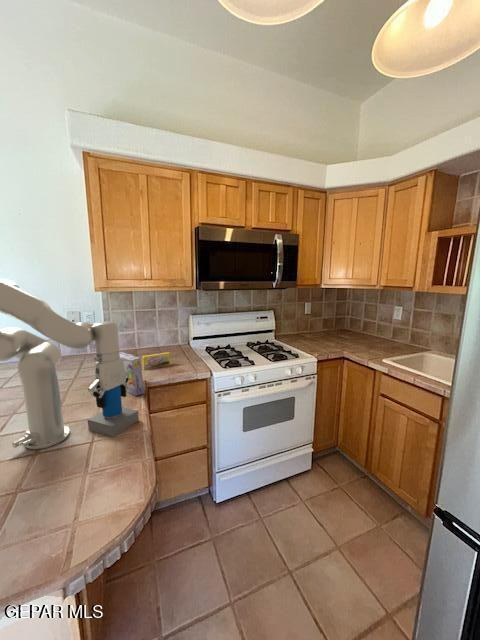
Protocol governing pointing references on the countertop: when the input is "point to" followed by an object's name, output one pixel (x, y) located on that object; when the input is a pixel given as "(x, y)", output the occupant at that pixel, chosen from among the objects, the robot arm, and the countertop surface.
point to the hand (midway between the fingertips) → (112, 401)
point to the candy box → (156, 360)
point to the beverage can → (112, 403)
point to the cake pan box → (133, 374)
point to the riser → (113, 422)
